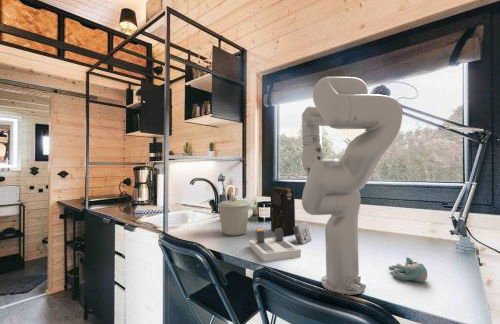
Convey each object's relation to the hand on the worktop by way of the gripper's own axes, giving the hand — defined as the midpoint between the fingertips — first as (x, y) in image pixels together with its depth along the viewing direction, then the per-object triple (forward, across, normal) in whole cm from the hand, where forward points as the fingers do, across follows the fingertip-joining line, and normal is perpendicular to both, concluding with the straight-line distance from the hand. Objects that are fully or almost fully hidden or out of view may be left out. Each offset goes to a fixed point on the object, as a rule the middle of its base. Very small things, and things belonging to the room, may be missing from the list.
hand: (312, 185), depth 106 cm
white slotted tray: (+29, +12, +13) cm, 34 cm away
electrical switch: (+29, +21, -6) cm, 37 cm away
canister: (+29, +48, +22) cm, 60 cm away
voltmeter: (+29, +40, -4) cm, 50 cm away
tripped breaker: (+26, +16, +18) cm, 35 cm away
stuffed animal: (+30, -27, -19) cm, 44 cm away
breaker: (+26, +16, +8) cm, 31 cm away
